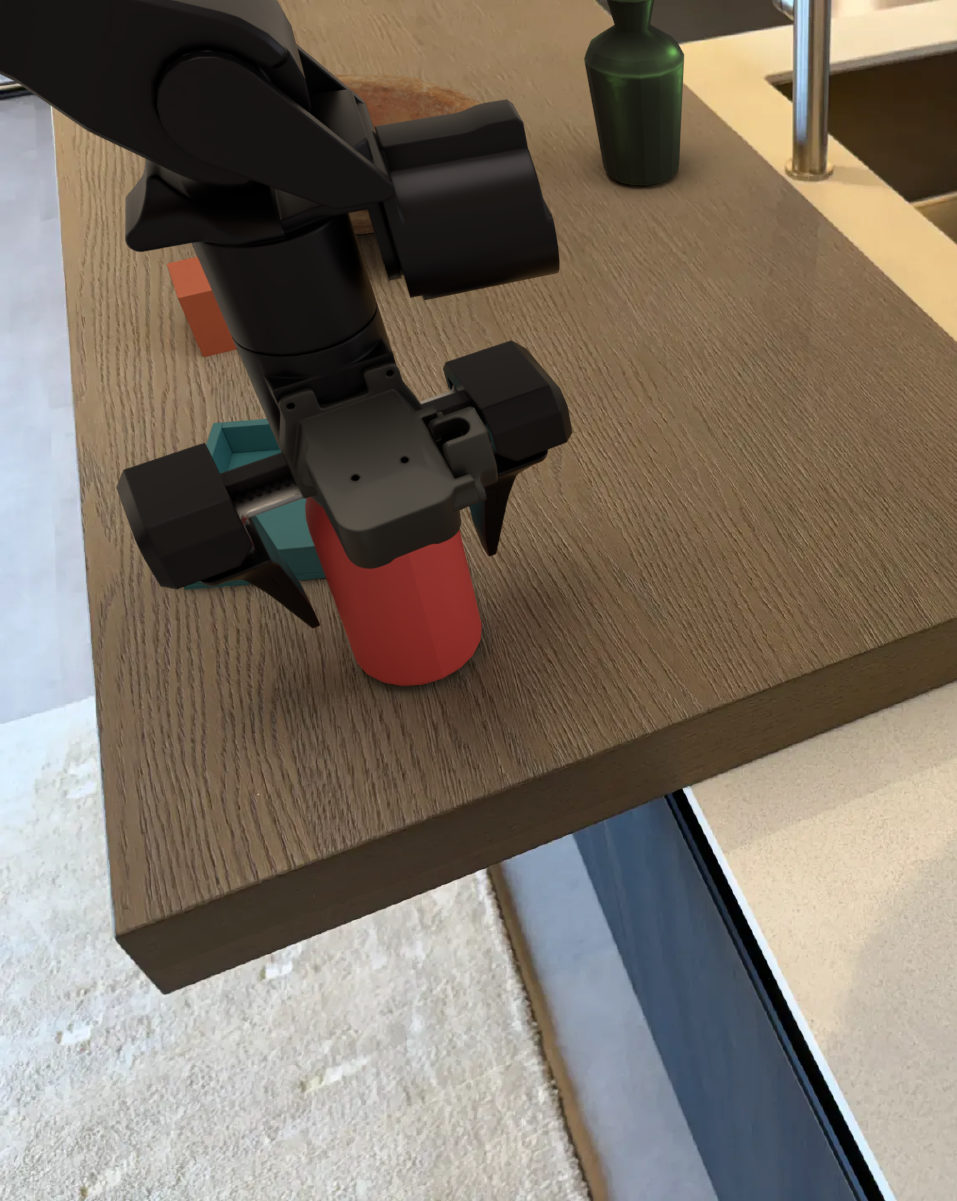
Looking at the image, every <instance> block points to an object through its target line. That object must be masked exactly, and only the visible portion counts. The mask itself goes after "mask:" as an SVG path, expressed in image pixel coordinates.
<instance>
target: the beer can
mask: <svg viewBox="0 0 957 1201" xmlns="http://www.w3.org/2000/svg"><path fill="white" fill-rule="evenodd" d="M305 515H306V521H307V525H308V529H309V532H310V535H311V538H312V541H313V543H314V546H315V549H316V552H317V554H318V557H319V560H320V563H321V565H322V568H323V571H324V574H325V576H326V578H325V579H326V583H327V584H328V588H329V590H330V593H331V595H332V598H333V601H334V604H335V607H336V610H337V612H338V615H339V618H340V620H341V623H342V626H343V629H344V632H345V634H346V637H347V640H348V642H349V646H350V648H351V651H352V654H353V657H354V659H355V662H356V664H357V665H359V667H360V668H361V669H362V671H364V672H365V673H366V674H367V675H368V676H370V677H371V678H374V679H375V680H378V681H380V682H382V683H384V684H389V685H395V686H401V687H410V686H423V685H428V684H431V683H434V682H436V681H440V680H443V679H445V678H446V677H448V676H450V675H452V674H453V673H456V672H457V671H458V670H460V669H461V668H462V667H463V666H464V665H465V664H466V663H467V662H468V661H469V660H470V659H471V658H472V657H473V656H474V655H475V652H476V650H477V648H478V646H479V644H480V642H481V640H482V626H483V624H482V621H481V620H482V619H481V615H480V612H479V607H478V603H477V599H476V594H475V589H474V586H473V582H472V577H471V572H470V568H469V564H468V560H467V555H466V552H465V547H464V542H463V538H462V534H461V528H460V529H459V531H458V532H457V534H456V535H455V536H454V537H452V538H451V539H449V540H447V541H445V542H442V543H440V544H431V545H428V546H426V547H423V548H421V549H418V550H416V551H413V552H411V553H408V554H405V555H403V556H400V557H398V558H396V559H394V560H393V561H392V562H391V563H389V564H387V565H384V566H381V567H378V568H374V569H365V568H361V567H358V566H356V565H355V564H353V563H352V562H351V561H350V560H349V558H348V557H347V555H346V553H345V551H344V549H343V547H342V545H341V542H340V540H339V538H338V536H337V534H336V532H335V530H334V528H333V526H332V524H331V522H330V520H329V518H328V516H327V514H326V512H325V510H324V508H323V506H322V504H321V502H320V500H319V497H318V495H317V494H316V495H314V496H311V497H308V498H306V504H305Z"/></svg>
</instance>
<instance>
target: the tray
mask: <svg viewBox="0 0 957 1201" xmlns="http://www.w3.org/2000/svg"><path fill="white" fill-rule="evenodd" d="M205 444H206V446H207V447H208V449H209V451H210V453H211V456H212V458H213V460H214V462H215V464H216V466H217V468H218V470H219V472H220V473H223V472H226V471H229V470H232V469H234V468H237V467H240V466H243V465H246V464H249V463H252V462H255V461H258V460H261V459H263V458H266V457H269V456H272V455H275V454H278V453H281V450H280V448H279V446H278V444H277V441H276V439H275V437H274V434H273V432H272V430H271V427H270V425H269V423H268V420H267V418H258V419H247V420H246V419H245V420H233V421H224V422H222V421H221V422H219V421H218V422H213V423H212V425H211V429H210V431H209V434H208V437H207V441H206V442H205ZM305 504H306V498H305V499H304V498H303V499H300V500H297V501H294V502H292V503H289V504H286V505H283V506H281V507H278V508H275V509H272V510H270V511H267V512H264V513H261V514H259V515H256V517H257V518H258V520H259V521H260V523H261V524H262V526H263V527H264V529H265V530H266V532H267V533H268V535H269V536H270V538H271V540H272V541H273V543H274V544H275V546H276V547H277V549H278V550H279V552H280V553H281V555H282V556H283V558H284V559H285V561H286V562H287V564H288V565H289V567H290V568H291V570H292V571H293V573H294V575H295V576H296V578H297V579H298V581H299V582H300V581H310V580H320V579H326V576H325V574H324V571H323V568H322V565H321V563H320V560H319V557H318V554H317V552H316V549H315V546H314V543H313V541H312V538H311V535H310V532H309V529H308V525H307V521H306V515H305ZM239 586H253V585H252V584H250V583H248V582H246V581H244V580H234V581H228V582H225V583H222V584H220V585H217V586H207V585H204V584H203V583H201V582H200V581H199V582H196V583H193V584H191V585H188V586H185V587H183V588H182V589H184V591H188V590H202V589H215V588H228V587H239Z"/></svg>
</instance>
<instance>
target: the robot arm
mask: <svg viewBox="0 0 957 1201" xmlns="http://www.w3.org/2000/svg"><path fill="white" fill-rule="evenodd" d="M0 75H1V76H3V77H4V78H7V79H9V80H11V81H13V82H14V83H17V84H18V85H20V86H21V87H23V88H24V89H26V90H27V91H28V92H30V93H31V94H33V95H34V96H36V97H37V98H39V99H40V100H42V101H43V102H44V103H46V104H48V105H49V106H50V107H52V108H53V109H55V110H56V111H58V112H59V113H61V114H62V115H63V116H65V117H66V118H68V119H69V120H70V121H71V122H74V123H75V124H76V125H78V126H79V127H80V128H82V129H84V130H86V131H87V132H88V133H91V134H93V135H94V136H97V137H98V138H101V139H103V140H104V141H107V142H110V143H112V144H114V145H115V146H118V147H119V148H122V149H124V150H126V151H129V152H131V153H132V154H135V155H136V156H139V157H141V158H143V159H144V160H145V161H144V169H143V173H142V175H141V177H140V178H139V179H138V181H137V182H136V184H135V185H134V186H133V188H132V189H131V190H130V191H129V192H128V193H127V195H126V196H125V205H124V206H125V209H124V211H125V213H124V214H125V216H124V217H125V220H124V223H125V224H124V239H125V240H124V241H125V245H126V246H127V247H128V248H129V249H130V250H131V251H133V252H137V253H145V252H151V251H155V250H161V249H166V248H171V247H178V246H182V245H189V244H191V245H192V248H193V250H194V253H195V254H196V257H198V259H199V262H200V264H201V266H202V269H203V271H204V273H205V276H206V278H207V280H208V283H209V285H210V287H211V289H212V292H213V294H214V296H215V299H216V301H217V303H218V306H219V308H220V310H221V313H222V315H223V317H224V320H225V322H226V324H227V327H228V329H229V331H230V334H231V336H232V339H233V341H234V343H235V346H236V348H237V350H236V351H237V353H238V355H239V358H240V360H241V362H242V364H243V367H244V369H245V371H246V373H247V376H248V379H249V380H250V383H251V385H252V387H253V390H254V392H255V394H256V397H257V399H258V401H259V404H260V406H261V409H262V411H263V413H264V415H265V419H267V420H268V423H269V425H270V427H271V430H272V432H273V434H274V437H275V439H276V441H277V444H278V446H279V448H280V450H281V453H278V454H275V455H272V456H269V457H266V458H263V459H261V460H258V461H255V462H252V463H249V464H246V465H243V466H240V467H237V468H234V469H232V470H229V471H226V472H223V473H220V472H219V470H218V468H217V466H216V464H215V462H214V460H213V458H212V456H211V453H210V451H209V449H208V447H207V446H206V442H202V443H199V444H196V445H193V446H190V447H187V448H183V449H181V450H177V451H175V452H171V453H168V454H166V455H162V456H160V457H157V458H153V459H151V460H148V461H145V462H142V463H139V464H136V465H133V466H130V467H127V468H125V469H122V472H121V474H120V477H119V479H118V482H117V483H116V491H117V494H118V496H119V499H120V502H121V505H122V507H123V510H124V514H125V516H126V519H127V522H128V525H129V527H130V531H131V533H132V536H133V538H134V541H135V543H136V545H137V547H138V550H139V552H140V553H141V555H142V558H143V560H144V561H145V563H146V565H147V566H148V568H149V570H150V572H151V573H152V575H153V576H154V578H155V580H156V582H157V583H158V585H159V586H160V587H161V588H167V589H171V590H180V589H184V588H183V587H185V586H188V585H191V584H193V583H196V582H199V581H200V582H201V583H203V584H204V585H207V586H217V585H220V584H222V583H225V582H228V581H234V580H244V581H246V582H248V583H250V584H252V585H251V586H254V587H256V588H257V589H259V590H261V591H263V592H264V593H266V594H267V595H269V596H270V597H271V598H272V599H274V600H275V601H276V602H278V603H279V604H280V605H281V606H282V607H284V608H285V609H286V610H288V611H289V612H291V613H292V614H293V615H294V616H296V617H297V618H298V619H299V620H301V621H302V622H303V623H304V624H306V625H307V626H308V627H310V628H311V629H316V628H318V627H321V622H320V620H319V618H318V616H317V614H316V612H315V610H314V607H313V605H312V603H311V601H310V599H309V597H308V594H307V593H306V591H305V589H304V587H303V585H302V584H301V582H300V581H298V579H297V578H296V576H295V575H294V573H293V571H292V570H291V568H290V567H289V565H288V564H287V562H286V561H285V559H284V558H283V556H282V555H281V553H280V552H279V550H278V549H277V547H276V546H275V544H274V543H273V541H272V540H271V538H270V536H269V535H268V533H267V532H266V530H265V529H264V527H263V526H262V524H261V523H260V521H259V520H258V518H257V517H256V515H259V514H261V513H264V512H267V511H270V510H272V509H275V508H278V507H281V506H283V505H286V504H289V503H292V502H294V501H297V500H300V499H303V498H304V499H305V498H308V497H311V496H314V495H316V494H317V495H318V497H319V500H320V502H321V504H322V506H323V508H324V510H325V512H326V514H327V516H328V518H329V520H330V522H331V524H332V526H333V528H334V530H335V532H336V534H337V536H338V538H339V540H340V542H341V545H342V547H343V549H344V551H345V553H346V555H347V557H348V558H349V560H350V561H351V562H352V563H353V564H355V565H356V566H358V567H361V568H365V569H374V568H378V567H381V566H384V565H387V564H389V563H391V562H392V561H393V560H394V559H396V558H398V557H400V556H403V555H405V554H408V553H411V552H413V551H416V550H418V549H421V548H423V547H426V546H428V545H431V544H440V543H442V542H445V541H447V540H449V539H451V538H452V537H454V536H455V535H456V534H457V532H458V531H459V529H460V530H461V527H462V516H461V515H462V514H461V510H464V509H466V508H469V512H470V517H471V520H472V523H473V526H474V529H475V531H476V534H477V536H478V539H479V542H480V545H481V547H482V549H483V550H484V552H485V553H486V555H487V556H488V557H493V556H495V555H497V553H498V548H499V545H500V544H499V543H500V540H501V539H500V538H501V533H502V529H503V525H504V521H505V515H506V511H507V506H508V502H509V496H510V494H511V491H512V488H513V486H514V483H515V481H516V478H517V476H518V475H519V474H520V473H522V472H524V471H525V470H528V469H529V468H530V467H532V466H535V465H536V464H537V465H538V464H540V463H542V462H544V461H545V459H546V458H547V456H548V454H549V450H551V449H554V448H556V447H559V446H561V445H564V444H567V443H568V442H569V439H570V438H571V436H572V434H573V433H574V432H573V427H572V422H571V417H570V416H571V415H570V411H569V406H568V403H567V401H566V398H565V395H564V393H563V392H562V391H563V390H562V389H561V387H560V386H559V385H558V384H557V382H555V380H554V379H553V377H552V376H550V375H549V373H548V372H547V371H546V370H545V368H543V366H542V365H541V364H540V363H539V362H538V360H537V359H536V358H535V357H534V356H533V355H532V353H531V352H530V351H529V350H528V349H527V348H526V347H525V346H523V345H521V344H519V343H517V342H515V341H514V340H512V339H511V340H507V341H505V342H501V343H499V344H496V345H492V346H490V347H486V348H483V349H481V350H480V349H479V350H477V351H475V352H472V353H468V354H466V355H463V356H460V357H456V358H454V359H451V360H448V361H445V362H444V364H443V367H442V371H443V375H444V378H445V382H446V385H447V388H448V389H449V391H445V392H443V393H440V394H437V395H434V396H431V397H428V398H425V399H422V400H419V399H418V397H417V396H416V395H415V393H414V392H413V391H412V390H411V388H410V387H409V386H408V385H407V384H406V382H405V381H404V379H403V377H402V373H401V371H400V370H401V369H400V368H399V367H398V365H397V361H396V358H395V355H394V352H393V350H392V347H391V343H390V339H389V336H388V333H387V330H386V326H385V323H384V321H383V317H382V314H381V312H380V311H381V310H380V308H379V305H378V301H377V298H376V295H375V291H374V289H373V288H374V287H373V285H372V283H371V279H370V276H369V272H368V269H367V266H366V263H365V260H364V256H363V253H362V250H361V247H360V244H359V240H358V237H357V234H355V231H354V228H353V224H352V221H351V218H350V215H349V213H352V212H357V211H363V210H368V213H369V216H370V220H371V223H372V226H373V230H374V233H373V234H374V236H375V240H376V243H377V247H378V250H379V252H380V256H381V260H382V263H383V267H384V270H385V273H386V276H387V279H388V280H387V281H388V282H391V281H396V280H401V279H404V282H405V285H406V289H407V292H408V294H409V295H408V296H409V298H410V299H412V298H417V297H422V299H423V301H430V300H434V299H438V298H439V299H440V298H443V297H444V298H445V297H449V296H454V295H457V294H462V293H468V292H472V291H473V292H474V291H478V290H483V289H488V288H492V287H496V286H502V285H507V284H512V283H516V282H522V281H527V280H531V279H536V278H541V277H545V276H546V277H547V276H551V275H555V274H559V273H560V269H561V268H560V267H561V265H560V264H561V262H560V250H559V242H558V235H557V231H556V225H555V221H554V217H553V214H552V212H551V210H550V209H549V206H548V204H547V203H546V201H545V199H544V196H543V191H542V188H541V184H540V181H539V180H540V179H539V177H538V174H537V170H536V167H535V164H534V161H533V158H532V155H531V152H530V150H529V145H528V141H527V135H526V134H527V133H526V129H525V124H524V123H525V122H524V121H523V119H522V117H521V116H520V114H519V112H518V110H517V108H516V107H515V105H514V103H513V102H512V101H510V100H509V99H507V98H506V99H499V100H492V101H488V102H487V101H486V102H481V103H482V104H478V105H475V106H473V107H470V108H468V109H466V110H463V111H461V112H457V113H452V114H446V115H440V116H434V117H428V118H422V119H416V120H410V121H404V122H398V123H392V124H385V125H379V126H375V129H374V126H373V123H372V120H371V117H370V114H369V111H368V108H367V105H366V103H365V101H364V100H363V99H362V98H361V97H359V96H358V95H357V94H356V93H355V92H353V91H352V90H351V89H350V88H349V87H347V86H346V85H345V84H344V83H343V82H341V81H340V80H339V79H338V78H337V77H336V76H334V75H335V74H333V73H332V72H331V71H330V70H328V68H326V67H325V66H324V65H323V64H321V63H320V62H319V61H318V60H316V58H314V57H313V56H312V55H311V54H310V53H309V52H307V51H306V50H305V49H304V48H303V47H301V45H299V44H298V43H297V40H296V37H295V34H294V30H293V26H292V24H291V22H290V20H289V19H288V17H287V16H286V13H285V11H284V10H283V8H282V6H281V4H280V2H279V1H278V0H0ZM375 131H376V132H375ZM402 276H403V278H402Z"/></svg>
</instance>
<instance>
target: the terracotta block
mask: <svg viewBox="0 0 957 1201" xmlns="http://www.w3.org/2000/svg"><path fill="white" fill-rule="evenodd" d="M166 267H167V270H168V273H169V276H170V279H171V282H172V285H173V288H174V292H175V295H176V297H177V300H178V302H179V304H180V307H181V309H182V311H183V312H182V313H183V314H184V317H185V319H186V321H187V323H188V326H189V328H190V330H191V333H192V335H193V338H194V340H195V342H196V344H197V347H198V349H199V351H200V354H201V356H202V357H203V358H207V357H211V356H214V355H215V356H216V355H218V354H223V353H229V352H232V351H238V350H237V348H236V346H235V343H234V341H233V339H232V336H231V334H230V331H229V329H228V327H227V324H226V322H225V320H224V317H223V315H222V313H221V310H220V308H219V306H218V303H217V301H216V299H215V296H214V294H213V292H212V289H211V287H210V285H209V283H208V280H207V278H206V276H205V273H204V271H203V269H202V266H201V264H200V262H199V259H198V257H197V256H193V257H190V258H185V259H181V260H176V261H172V262H168V263H166Z"/></svg>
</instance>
